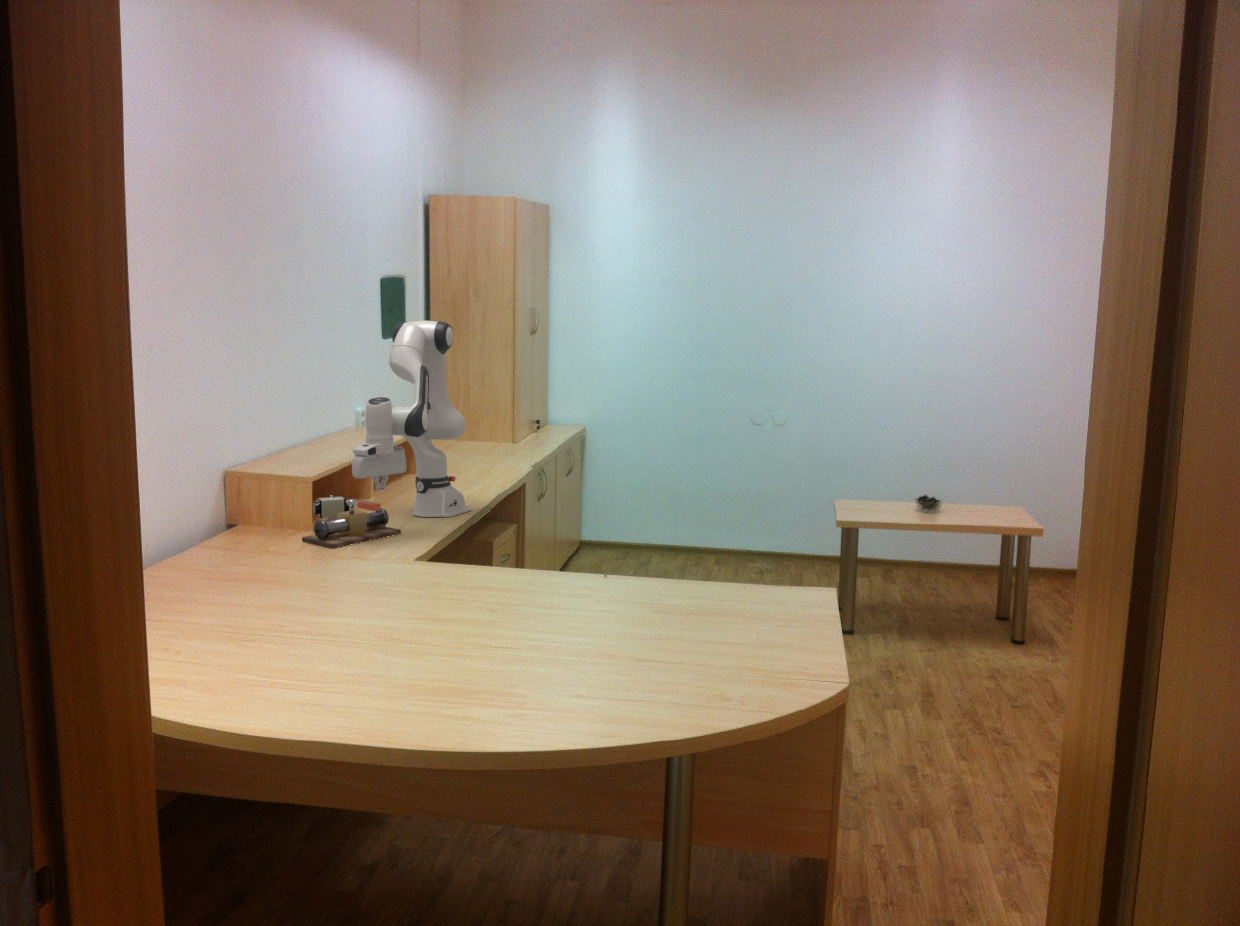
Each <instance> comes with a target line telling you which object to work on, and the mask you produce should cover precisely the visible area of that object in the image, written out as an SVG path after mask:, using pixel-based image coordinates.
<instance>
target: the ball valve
mask: <svg viewBox="0 0 1240 926" xmlns="http://www.w3.org/2000/svg"><path fill="white" fill-rule="evenodd" d="M335 519H336V518H335ZM388 523H389V514H388V512H387V510H386V509H385V508H382V507H381V510H377V511H373V512H368V513H367V511H361V510H356V509H355V505H353V506H349V511H346V512H340V513H337V519H336V520H331V521H325V520H324V519H318V520H316V521H314V524H313V533H314V535H316V536H317V537H318V538H319V539H322V538H326V537H327V535H328V534H334V533H338V534H341V535H345V536H355V535H360V534H365V533H367V527H368V526H373V525H377V524H385V526H386V525H388Z"/></svg>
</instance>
